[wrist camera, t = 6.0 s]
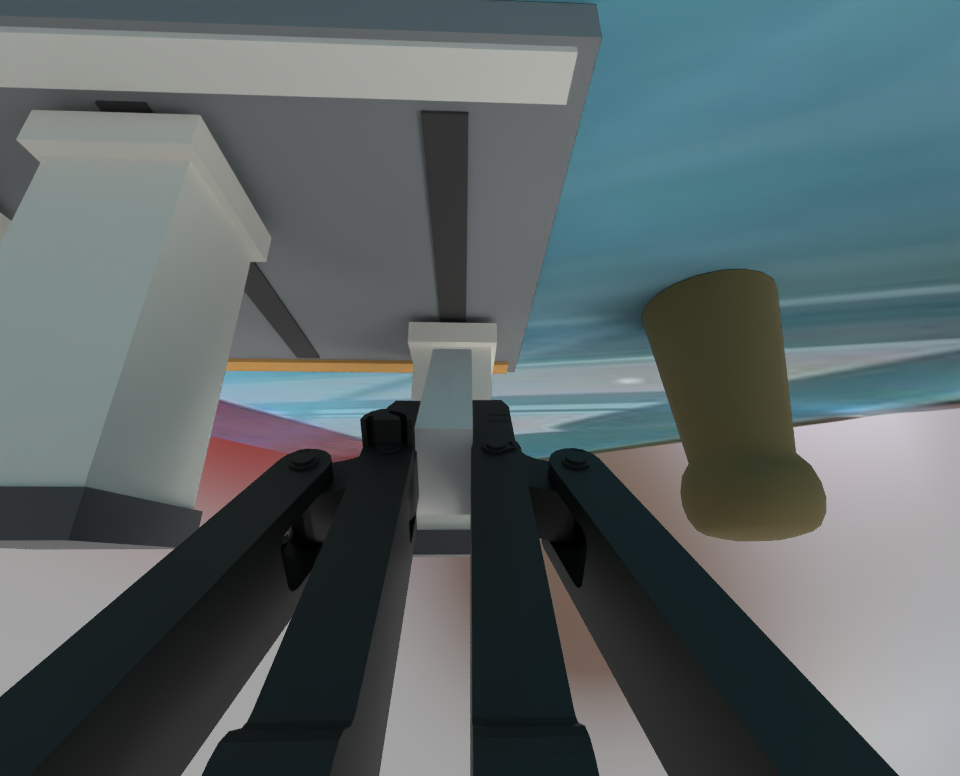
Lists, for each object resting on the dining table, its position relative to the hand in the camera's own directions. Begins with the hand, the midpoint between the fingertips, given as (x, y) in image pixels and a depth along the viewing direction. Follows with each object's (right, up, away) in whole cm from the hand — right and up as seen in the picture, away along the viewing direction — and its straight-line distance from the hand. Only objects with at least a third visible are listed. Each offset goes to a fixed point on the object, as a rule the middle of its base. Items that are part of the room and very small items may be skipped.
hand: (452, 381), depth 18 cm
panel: (-8, +5, 0) cm, 10 cm away
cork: (+12, +4, +4) cm, 14 cm away
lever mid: (-8, +6, -5) cm, 11 cm away
